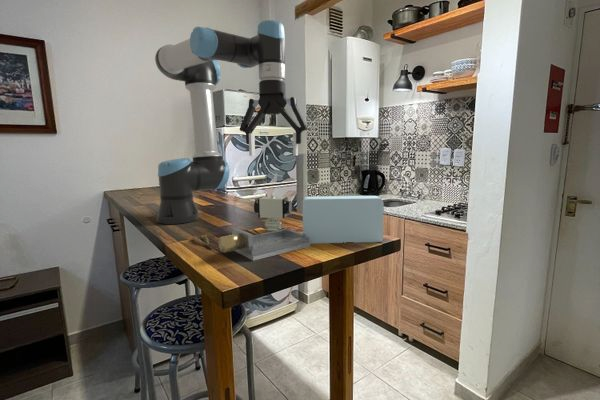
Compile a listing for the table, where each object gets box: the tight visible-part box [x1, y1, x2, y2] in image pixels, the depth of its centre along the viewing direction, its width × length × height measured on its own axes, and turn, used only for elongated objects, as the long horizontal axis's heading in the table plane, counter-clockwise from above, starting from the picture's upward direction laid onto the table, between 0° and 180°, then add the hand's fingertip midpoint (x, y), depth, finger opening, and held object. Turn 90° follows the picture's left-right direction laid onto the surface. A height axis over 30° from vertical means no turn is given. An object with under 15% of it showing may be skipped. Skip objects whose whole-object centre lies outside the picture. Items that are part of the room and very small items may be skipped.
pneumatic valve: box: [253, 194, 293, 232], centre depth 108 cm, size 6×12×12 cm, turn 79°
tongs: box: [191, 234, 214, 251], centre depth 94 cm, size 4×13×2 cm, turn 37°
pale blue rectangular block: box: [302, 195, 385, 244], centre depth 95 cm, size 23×6×13 cm, turn 90°
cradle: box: [218, 227, 311, 261], centre depth 88 cm, size 23×13×6 cm, turn 128°
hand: (273, 155), depth 98 cm, fingers open, 13 cm apart
